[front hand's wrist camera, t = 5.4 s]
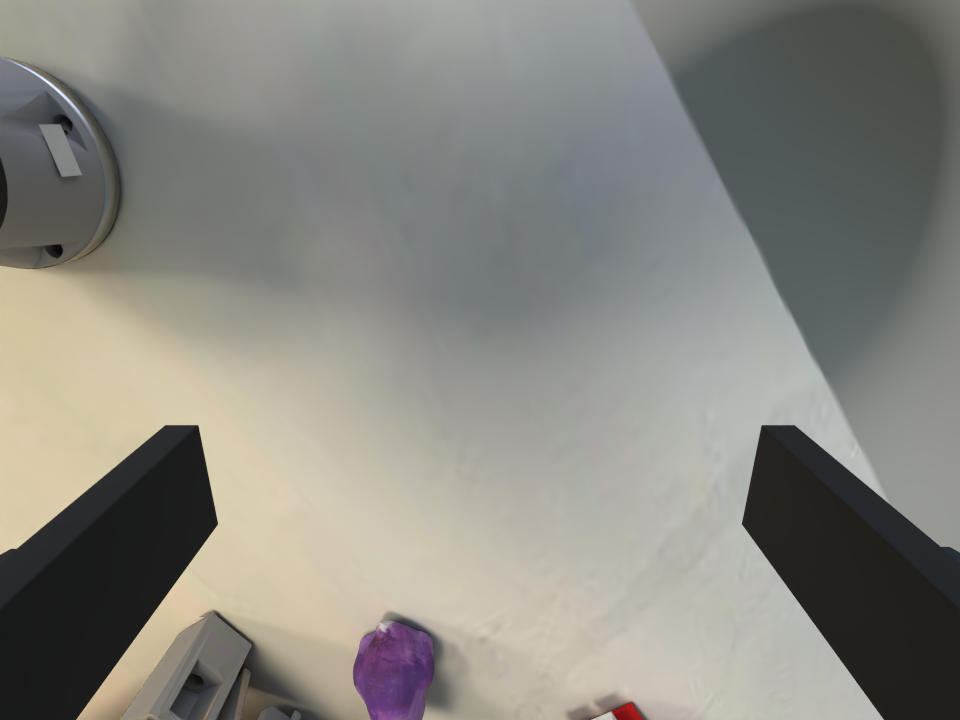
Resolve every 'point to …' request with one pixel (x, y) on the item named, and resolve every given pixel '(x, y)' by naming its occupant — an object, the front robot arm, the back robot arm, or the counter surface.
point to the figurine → (394, 671)
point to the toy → (621, 714)
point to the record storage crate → (200, 678)
